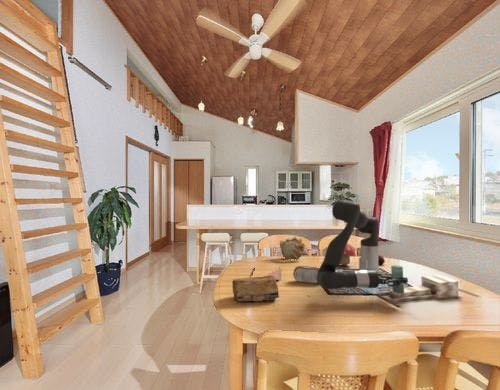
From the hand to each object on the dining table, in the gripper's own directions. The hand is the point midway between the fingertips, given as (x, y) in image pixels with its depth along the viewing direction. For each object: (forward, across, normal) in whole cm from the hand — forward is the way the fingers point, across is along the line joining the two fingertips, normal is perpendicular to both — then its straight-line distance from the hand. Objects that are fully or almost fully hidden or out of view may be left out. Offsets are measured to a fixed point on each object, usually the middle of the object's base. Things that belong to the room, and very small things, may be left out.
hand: (403, 278), depth 115 cm
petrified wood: (-64, +5, +10) cm, 65 cm away
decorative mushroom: (-3, +60, +10) cm, 61 cm away
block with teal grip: (+3, +1, +8) cm, 8 cm away
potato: (+21, +63, +10) cm, 67 cm away
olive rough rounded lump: (-34, +77, +10) cm, 85 cm away
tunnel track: (+12, +3, +10) cm, 16 cm away
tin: (-35, +26, +10) cm, 45 cm away
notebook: (-55, +42, +10) cm, 70 cm away
